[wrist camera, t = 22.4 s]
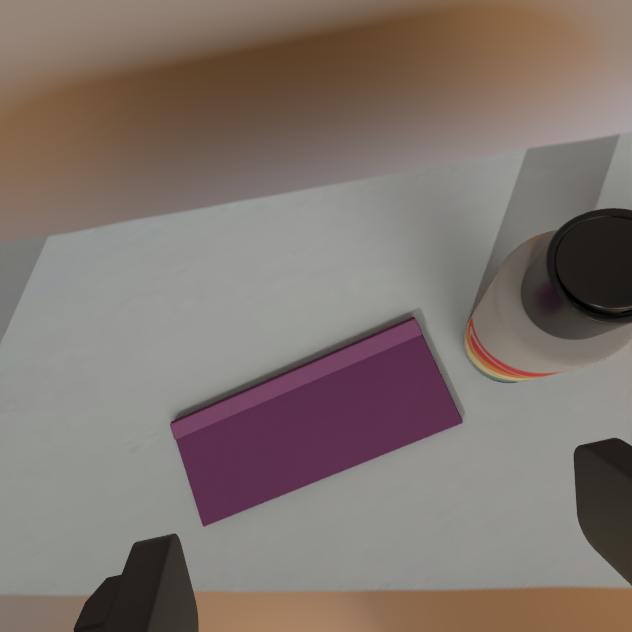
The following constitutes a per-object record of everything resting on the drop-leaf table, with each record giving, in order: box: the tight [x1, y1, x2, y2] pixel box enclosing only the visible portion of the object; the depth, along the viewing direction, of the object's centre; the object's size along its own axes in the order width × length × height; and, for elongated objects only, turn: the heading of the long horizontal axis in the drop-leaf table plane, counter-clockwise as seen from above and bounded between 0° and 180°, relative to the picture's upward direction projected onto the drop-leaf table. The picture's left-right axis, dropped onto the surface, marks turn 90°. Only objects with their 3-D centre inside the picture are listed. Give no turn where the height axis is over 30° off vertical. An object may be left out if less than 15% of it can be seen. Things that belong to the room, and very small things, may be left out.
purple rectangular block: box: [170, 317, 463, 526], centre depth 36 cm, size 20×8×1 cm, turn 112°
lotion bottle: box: [464, 208, 632, 383], centre depth 25 cm, size 6×6×20 cm
